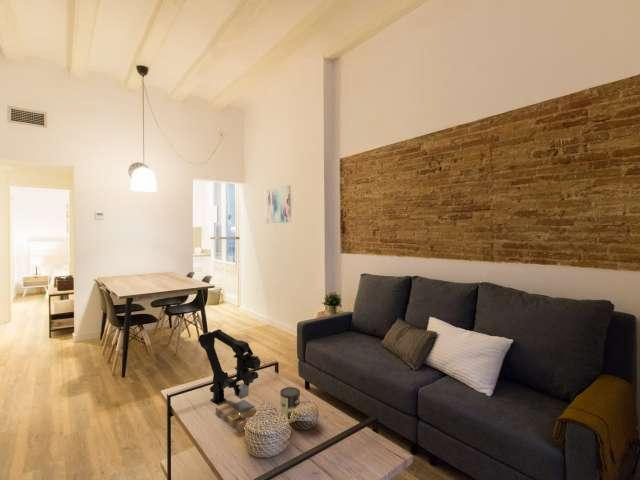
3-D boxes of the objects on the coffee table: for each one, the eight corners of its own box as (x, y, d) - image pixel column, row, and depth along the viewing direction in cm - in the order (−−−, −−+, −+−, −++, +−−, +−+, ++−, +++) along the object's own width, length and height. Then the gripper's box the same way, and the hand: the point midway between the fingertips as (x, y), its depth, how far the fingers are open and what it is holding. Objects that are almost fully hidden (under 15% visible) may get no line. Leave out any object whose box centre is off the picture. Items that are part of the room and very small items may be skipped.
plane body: (215, 414, 180) (215, 404, 180) (225, 409, 185) (225, 400, 185) (240, 432, 165) (240, 421, 165) (251, 426, 170) (251, 416, 170)
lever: (237, 413, 173) (226, 416, 169) (237, 411, 173) (227, 414, 169) (243, 418, 170) (233, 421, 165) (243, 415, 170) (233, 418, 165)
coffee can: (301, 414, 183) (302, 388, 182) (296, 424, 173) (297, 397, 172) (283, 411, 185) (283, 385, 184) (277, 422, 175) (277, 394, 174)
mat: (228, 406, 188) (228, 406, 188) (243, 400, 196) (243, 399, 196) (239, 413, 182) (239, 413, 182) (254, 406, 189) (254, 406, 189)
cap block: (234, 395, 189) (234, 386, 189) (242, 391, 192) (242, 383, 192) (240, 398, 185) (241, 389, 185) (248, 395, 188) (248, 386, 188)
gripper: (236, 375, 176) (235, 405, 176) (264, 365, 190) (264, 393, 190) (223, 369, 183) (223, 398, 184) (252, 359, 197) (251, 386, 198)
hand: (241, 394), depth 189 cm, fingers closed on cap block, 5 cm apart
